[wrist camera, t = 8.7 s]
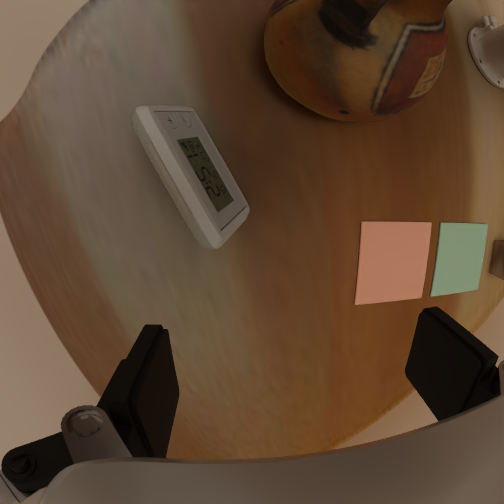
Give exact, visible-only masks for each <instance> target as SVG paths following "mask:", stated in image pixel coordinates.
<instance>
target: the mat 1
mask: <svg viewBox="0 0 504 504" xmlns="http://www.w3.org/2000/svg"><path fill="white" fill-rule="evenodd" d="M431 223H432V222H397V221H361V231H360V247H359V260H358V272H357V282H356V292H355V300H354V304H355V305H358V304H369V303H379V302H389V301H398V300H407V299H415V298H421V297H422V291H423V286H424V280H425V273H426V267H427V259H428V252H429V243H430V234H431Z"/></svg>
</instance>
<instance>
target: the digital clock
mask: <svg viewBox="0 0 504 504" xmlns="http://www.w3.org/2000/svg"><path fill="white" fill-rule="evenodd" d="M131 124H132V126H133V129H134V131H135V133H136V134H137V136H138V138H139V140H140V142H141V144H142V146H143V148H144V150H145V152H146V153H147V155H148V157H149V159H150V161H151V162H152V164H153V166H154V168H155V170H156V171H157V173H158V175H159V177H160V179H161V180H162V182H163V184H164V186H165V188H166V189H167V191H168V193H169V195H170V196H171V198H172V200H173V202H174V203H175V205H176V207H177V209H178V210H179V212H180V214H181V215H182V217H183V219H184V221H185V222H186V224H187V226H188V227H189V229H190V231H191V232H192V234H193V236H194V237H195V239H196V240H197V242H198V243H199V245H200V246H201V247H203V248H205V249H208V250H215V249H218V248H220V247H221V246H222V245H223V244H224V243H225V242H226V241H227V240H228V238H229V237H230V236H231V235H232V234H233V233H234V232H235V231H236V230H237V229H238V227H239V226H240V225H241V224H242V223H243V222H244V221H245V220H246V218H247V216H248V214H249V211H250V208H249V205H248V203H247V201H246V200H245V198H244V196H243V194H242V192H241V190H240V189H239V187H238V185H237V183H236V181H235V180H234V178H233V176H232V174H231V172H230V171H229V169H228V167H227V165H226V164H225V162H224V160H223V158H222V157H221V155H220V153H219V151H218V149H217V148H216V146H215V144H214V142H213V141H212V139H211V137H210V135H209V134H208V132H207V130H206V128H205V127H204V125H203V123H202V121H201V120H200V118H199V116H198V115H197V113H196V112H195V110H194V109H193V108H192V107H188V106H165V105H145V106H138V107H137V108H135V109H134V111H133V113H132V116H131Z"/></svg>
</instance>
